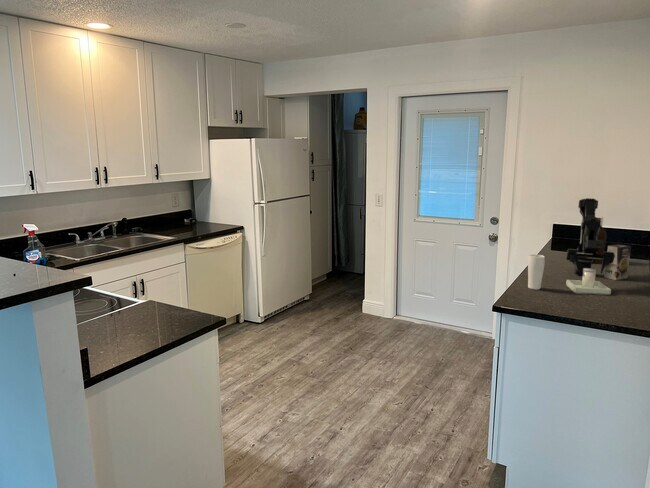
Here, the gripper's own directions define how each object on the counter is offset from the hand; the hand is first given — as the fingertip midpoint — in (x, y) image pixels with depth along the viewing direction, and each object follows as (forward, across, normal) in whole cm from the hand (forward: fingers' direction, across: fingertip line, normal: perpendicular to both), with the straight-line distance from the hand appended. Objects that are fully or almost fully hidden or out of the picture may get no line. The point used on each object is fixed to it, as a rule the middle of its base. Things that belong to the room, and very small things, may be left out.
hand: (589, 271), depth 219 cm
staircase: (-66, +9, +80) cm, 104 cm away
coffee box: (-16, +15, +28) cm, 36 cm away
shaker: (+5, 0, +7) cm, 8 cm away
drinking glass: (+10, -22, +2) cm, 24 cm away
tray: (+5, 0, +7) cm, 9 cm away
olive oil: (-41, +8, +54) cm, 68 cm away
